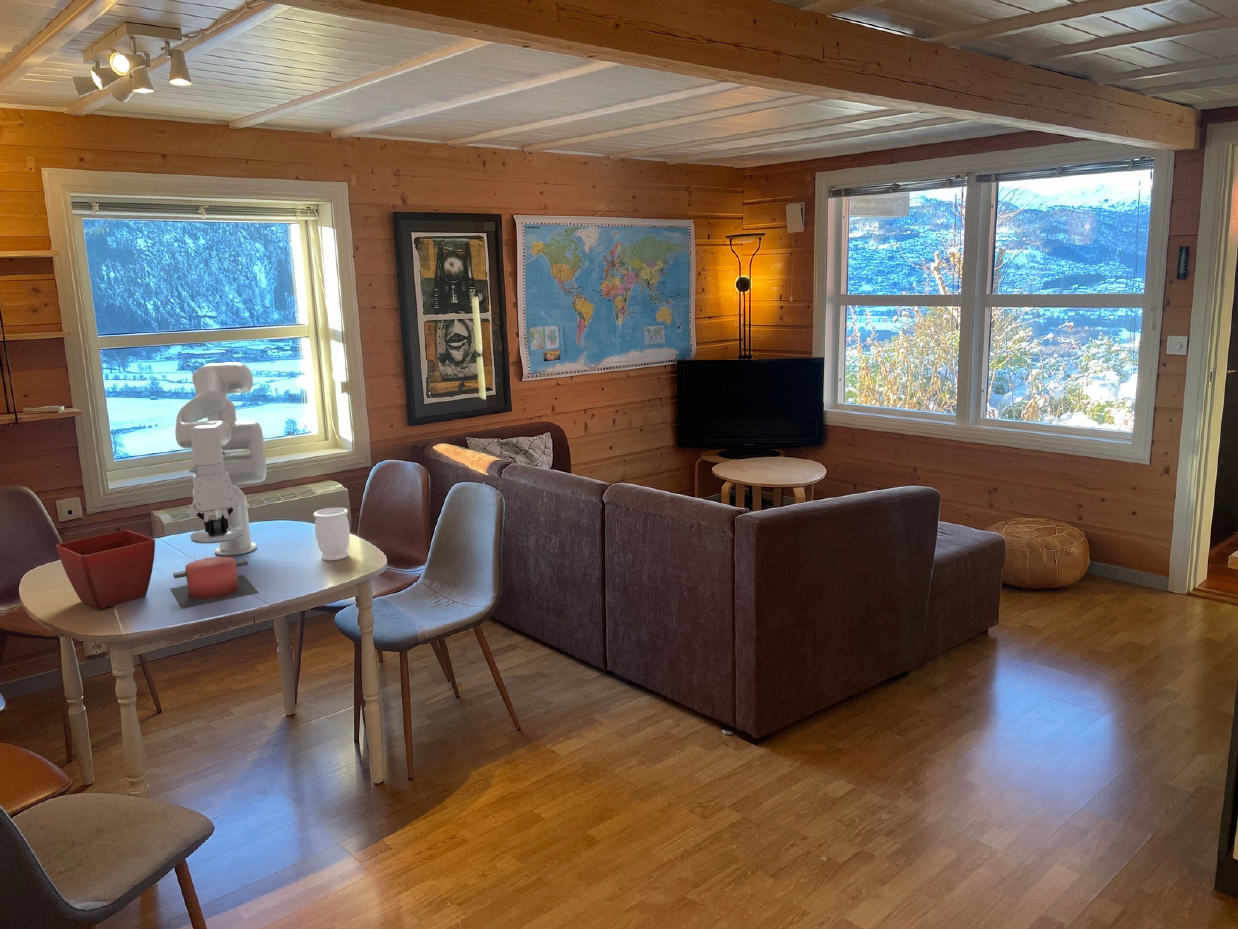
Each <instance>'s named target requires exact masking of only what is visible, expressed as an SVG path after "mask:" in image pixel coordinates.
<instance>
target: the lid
mask: <svg viewBox="0 0 1238 929" xmlns="http://www.w3.org/2000/svg"><path fill="white" fill-rule="evenodd" d="M209 519H210V521H211V526H212V535H209V534H208V532H205V528H203V529H200V530H197V531H195V532H193V533H192V534H190V541H191V542H193V543H195V544H216V543H218V544H220V543H219V542H225V541H230V540H234V539H237V538H239V537H241V536H243V535H244V534H245V532H244V528H242V527H238V526H228V527H229V528H228V529H227V532H226V533H225V532H224V531H223V522H222V518H216V517H212V518H209Z"/></svg>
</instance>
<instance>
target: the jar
mask: <svg viewBox="0 0 1238 929" xmlns="http://www.w3.org/2000/svg"><path fill="white" fill-rule="evenodd" d="M347 515H348V509H347V508H345V507H327V508H323V509H319V510H316V511H314V512H313V517H314V518H315V522H314V531H315V532H314V534H315V537H316V540H317V545H318V548H319V551H320V552H321V556H320V557H321V560H324V561H339V560H343V559H346V558H347V557H348V556H349V552H348V551H347V550H348V548H349V546H350V545H349V544H350V532H351V530H350V522H349V519H348V516H347Z"/></svg>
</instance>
